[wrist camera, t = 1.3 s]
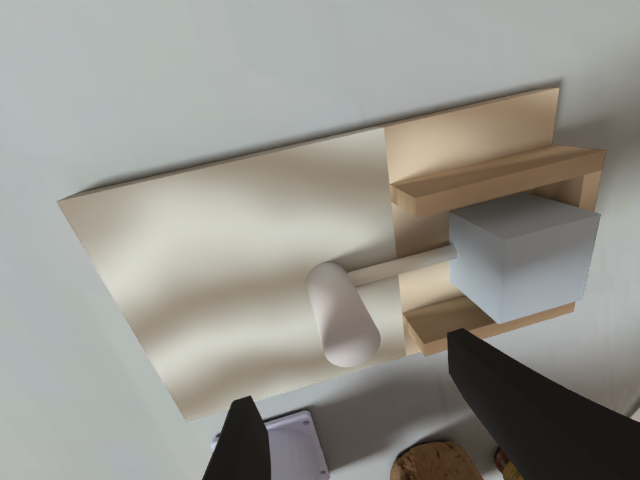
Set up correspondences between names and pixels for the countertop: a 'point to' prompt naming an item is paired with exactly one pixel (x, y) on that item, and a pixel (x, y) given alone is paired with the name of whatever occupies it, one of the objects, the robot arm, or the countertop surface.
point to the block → (435, 463)
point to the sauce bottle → (507, 467)
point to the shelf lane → (316, 243)
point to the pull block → (470, 269)
